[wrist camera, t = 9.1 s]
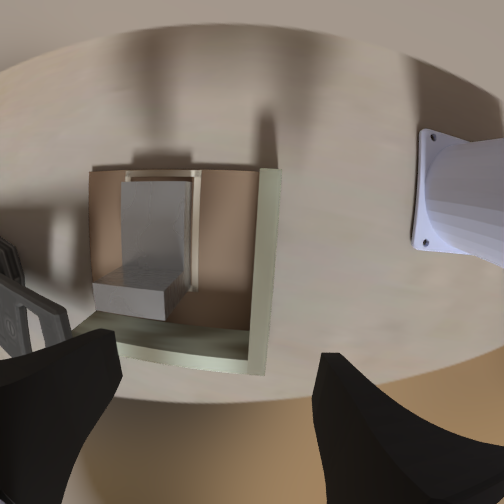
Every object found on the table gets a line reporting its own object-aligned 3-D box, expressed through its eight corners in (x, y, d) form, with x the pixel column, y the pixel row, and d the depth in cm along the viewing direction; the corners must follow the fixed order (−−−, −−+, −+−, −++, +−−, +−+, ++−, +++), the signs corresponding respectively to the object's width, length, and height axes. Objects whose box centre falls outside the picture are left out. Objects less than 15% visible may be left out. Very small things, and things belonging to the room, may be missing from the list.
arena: (278, 173, 17) (281, 169, 13) (265, 342, 19) (264, 375, 15) (92, 171, 17) (57, 171, 13) (100, 320, 20) (74, 344, 16)
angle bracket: (190, 287, 18) (165, 320, 13) (133, 281, 18) (95, 310, 13) (192, 181, 17) (163, 179, 12) (132, 181, 17) (88, 181, 12)
